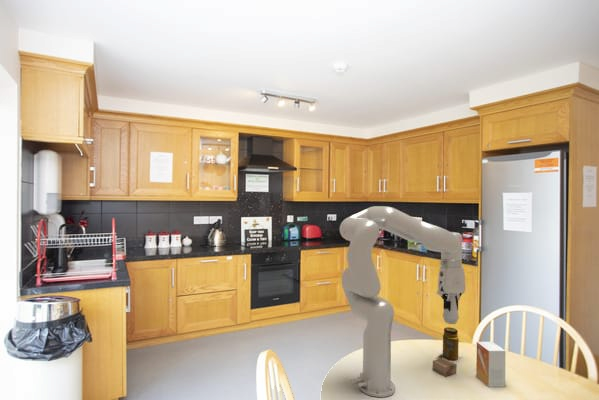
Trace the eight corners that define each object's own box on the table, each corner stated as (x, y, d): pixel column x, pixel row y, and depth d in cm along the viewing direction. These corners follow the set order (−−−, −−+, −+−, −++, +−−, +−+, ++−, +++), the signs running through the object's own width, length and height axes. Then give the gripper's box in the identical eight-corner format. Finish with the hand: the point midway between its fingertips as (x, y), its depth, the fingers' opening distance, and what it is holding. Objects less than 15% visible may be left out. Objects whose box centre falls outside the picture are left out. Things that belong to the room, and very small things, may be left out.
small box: (475, 376, 130) (476, 341, 130) (492, 375, 130) (492, 341, 131) (488, 387, 122) (488, 350, 122) (505, 387, 122) (506, 350, 122)
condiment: (462, 358, 145) (462, 329, 145) (453, 364, 139) (454, 334, 140) (444, 352, 151) (445, 324, 151) (436, 358, 145) (436, 329, 145)
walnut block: (445, 378, 129) (445, 367, 129) (432, 370, 134) (432, 360, 134) (456, 374, 131) (456, 364, 131) (443, 367, 137) (443, 357, 137)
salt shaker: (460, 325, 133) (460, 291, 133) (444, 324, 134) (444, 290, 134) (456, 320, 139) (456, 288, 139) (441, 319, 140) (441, 287, 140)
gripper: (441, 266, 130) (441, 315, 130) (474, 264, 136) (474, 310, 136) (428, 262, 137) (427, 309, 137) (459, 261, 143) (459, 305, 143)
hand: (450, 309), depth 137 cm, fingers closed on salt shaker, 3 cm apart
